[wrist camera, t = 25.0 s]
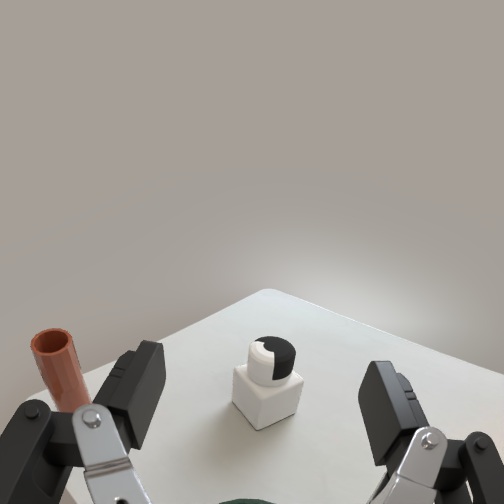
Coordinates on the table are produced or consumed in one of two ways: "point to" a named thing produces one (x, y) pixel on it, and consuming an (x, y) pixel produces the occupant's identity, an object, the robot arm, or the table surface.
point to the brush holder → (60, 369)
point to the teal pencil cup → (247, 501)
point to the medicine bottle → (267, 382)
